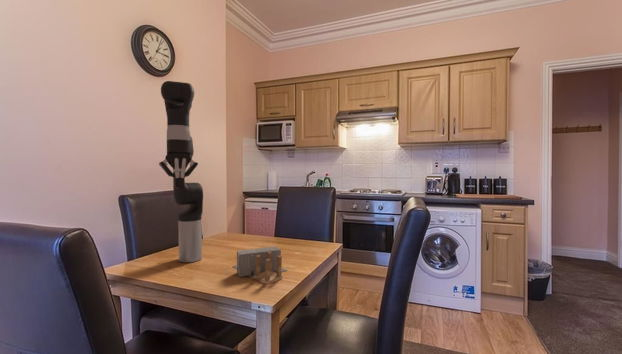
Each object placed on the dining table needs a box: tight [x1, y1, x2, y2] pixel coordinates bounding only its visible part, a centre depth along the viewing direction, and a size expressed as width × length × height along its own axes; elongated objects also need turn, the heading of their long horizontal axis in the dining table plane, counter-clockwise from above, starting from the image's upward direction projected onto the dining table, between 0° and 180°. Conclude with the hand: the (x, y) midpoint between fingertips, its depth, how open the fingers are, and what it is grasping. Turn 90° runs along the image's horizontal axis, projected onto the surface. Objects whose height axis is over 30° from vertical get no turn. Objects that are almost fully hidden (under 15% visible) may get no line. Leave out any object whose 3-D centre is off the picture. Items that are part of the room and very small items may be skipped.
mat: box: [232, 264, 288, 280], centre depth 115 cm, size 18×14×1 cm
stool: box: [253, 252, 283, 285], centre depth 103 cm, size 7×7×8 cm
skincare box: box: [236, 246, 282, 278], centre depth 110 cm, size 8×7×16 cm
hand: (179, 188), depth 103 cm, fingers closed
